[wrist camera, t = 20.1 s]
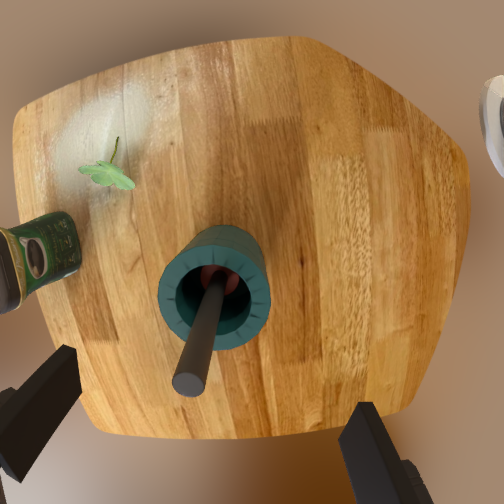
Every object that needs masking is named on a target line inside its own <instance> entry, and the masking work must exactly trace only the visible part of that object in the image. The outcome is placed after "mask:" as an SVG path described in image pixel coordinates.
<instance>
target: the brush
mask: <svg viewBox="0 0 504 504" xmlns="http://www.w3.org/2000/svg"><path fill="white" fill-rule="evenodd" d="M239 278H240V276H239V275H238V274H237V273H236V272H235V271H233V270H231V269H229V268H227V267H225V266H220V265H215V264H211V265H204V266H203V268H202V270H201V273H200V280H201V284H202V286H203V287H204V289H205V290H206V291H205V294H204V296H203V299H202V302H201V304H200V307H199V309H198V312H197V315H196V317H195V320H194V322H193V325H192V328H191V330H190V333H189V336H188V338H187V341H186V343H185V346H184V349H183V351H182V354H181V357H180V360H179V362H178V365H177V368H176V370H175V373H174V376H173V379H172V385H173V388H174V389H175V390H176V391H177V392H178V393H179V394H181V395H183V396H186V397H197V396H199V395H201V394H202V393H203V391H204V389H205V384H206V379H207V375H208V370H209V365H210V360H211V355H212V350H213V345H214V340H215V336H216V331H217V326H218V321H219V317H220V312H221V307H222V303H223V298H224V296H225V295H228V294H230V293H232V292H233V291H234V290H235V289H236V288H237V286H238V284H239Z"/></svg>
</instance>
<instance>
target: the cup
mask: <svg viewBox="0 0 504 504" xmlns="http://www.w3.org/2000/svg"><path fill="white" fill-rule="evenodd" d="M211 264H215V265H220V266H225V267H227V268H229V269H231V270H233V271H235V272H236V273H237V274H238V275H239V276H240V278H239V284H238V286H237V288H236V289H235V290H234V291H233V292H232V293H230V294H228V295H225V296H224V298H223V303H222V307H221V312H220V317H219V321H218V326H217V331H216V336H215V340H214V345H213V350H214V351H216V350H228V349H233V348H235V347H238V346H241V345H243V344H245V343H247V342H248V341H249V340H251V339H252V338H253V337H254V336H256V335H257V334H258V333H259V332H260V330H261V328H262V327H263V325H264V324H265V322H266V321H267V319H268V315H269V311H270V306H271V298H270V288H269V283H268V278H267V273H266V268H265V263H264V258H263V254H262V251H261V249H260V247H259V245H258V243H257V242H256V240H255V239H254V238H253V237H252V236H251V235H250V234H249V233H247V232H246V231H244V230H243V229H240V228H238V227H235V226H231V225H217V226H213V227H210V228H207V229H205V230H204V231H202V232H200V233H199V234H198V235H197V236H196V237H195V238H194V239H193V240H192V241H191V242H190V243H189V244H188V245H187V246H186V247H185V248H184V249H183V250H182V251H181V252H180V253H179V254H178V255H177V256H176V257H175V258H174V259H173V260H172V261H171V262H170V263H169V264H168V265H167V267H166V268H165V270H164V272H163V274H162V277H161V279H160V281H159V287H158V303H159V307H160V311H161V314H162V316H163V318H164V320H165V321H166V323H167V325H168V326H169V328H170V329H171V330H172V331H173V332H174V333H175V334H176V335H177V336H178V337H180V338H181V339H182V340H183V341H185V342H186V341H187V338H188V336H189V333H190V330H191V328H192V325H193V322H194V320H195V317H196V315H197V312H198V309H199V307H200V304H201V302H202V299H203V296H204V294H205V291H206V290H205V289H204V287H203V286H202V284H201V280H200V273H201V270H202V268H203V266H204V265H211ZM213 350H212V351H213Z"/></svg>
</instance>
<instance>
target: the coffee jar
mask: <svg viewBox="0 0 504 504" xmlns="http://www.w3.org/2000/svg"><path fill="white" fill-rule="evenodd" d="M80 265H81V249H80V243H79V239H78V235H77V231H76V227H75V224H74V221H73V219H72V218H71V216H70V215H68V214H67V213H65V212H54V213H49V214H46V215H43V216H40V217H38V218H36V219H34V220H31V221H29V222H27V223H24V224H22V225H19V226H17V227H14V228H11V229H4V228H1V227H0V314H4V313H6V312H9V311H11V310H15V309H17V308H18V307H20V306H21V305H22V303H23V302H24V301H25V299H26V298H27V296H28V295H29V294H31V293H32V292H33V291H35V290H37V289H39V288H41V287H43V286H45V285H47V284H50V283H52V282H55V281H57V280H60V279H62V278H65V277H67V276H69V275H71V274H73V273H75V272H76V271H77V270H78V269H79V267H80Z"/></svg>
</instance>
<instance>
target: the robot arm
mask: <svg viewBox="0 0 504 504" xmlns="http://www.w3.org/2000/svg"><path fill="white" fill-rule="evenodd" d="M500 124H501V129H502V134H503V137H504V97H503V99H502V101H501V105H500ZM81 393H82V388H81V382H80V375H79V368H78V360H77V352H76V349H75V348H72V347H69V346H67V345H64V344H63V345H62V346H61V347H60V348H59V349H58V350H57V351H56V352H55V353H54V354H53V355H52V356H51V357H49V358H48V360H46V361H45V363H43V364H42V365H41V366H40V367H39V368H38V369H37V371H35V372H34V373H33V375H31V377H29V379H28V380H27V381H26V382H25V383H24V384H23V385H22V386H21V387H20V388H19V389H18V390H15V389H13V388H12V387H10V388H8V389H6V390H3V391H1V392H0V468H1V467H2V468H3V470H4V471H5V473H6V474H7V475H9V476H10V477H12V478H13V479H15V480H16V481H18V482H19V483H21V482H22V481H23V479H24V478H25V476H26V474H27V472H28V471H29V470H30V468H31V467H32V465H33V463H34V462H35V460H36V459H37V457H38V456H39V454H40V453H41V451H42V450H43V448H44V447H45V445H46V444H47V442H48V441H49V439H50V438H51V436H52V435H53V433H54V432H55V430H56V429H57V427H58V426H59V425H60V423H61V422H62V420H63V419H64V417H65V416H66V415H67V413H68V412H69V410H70V409H71V407H72V406H73V405H74V403H75V402H76V400H77V399H78V398H79V396H80V395H81ZM338 441H339V445H340V448H341V451H342V454H343V458H344V461H345V465H346V468H347V471H348V475H349V478H350V482H351V485H352V489H353V492H354V495H355V498H356V503H357V504H434V503H433V501H432V499H431V497H430V495H429V493H428V490H427V488H426V486H425V484H423V480H422V478H421V477H420V474H419V472H418V470H417V468H416V466H415V465H413V463H412V462H410V461H409V460H400V457H399V455H398V453H397V451H396V449H395V447H394V445H393V443H392V441H391V439H390V437H389V434H388V432H387V430H386V428H385V426H384V424H383V422H382V420H381V418H380V416H379V414H378V412H377V410H376V408H375V406H374V404H373V402H358V404H357V406H356V408H355V410H354V412H353V413H352V415H351V417H350V419H349V421H348V423H347V425H346V426H345V428H344V430H343V432H342V433H341V435H340V437H339V439H338ZM0 504H7V503H6V499H5V495H4V490H3V486H2V481H1V476H0Z"/></svg>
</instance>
